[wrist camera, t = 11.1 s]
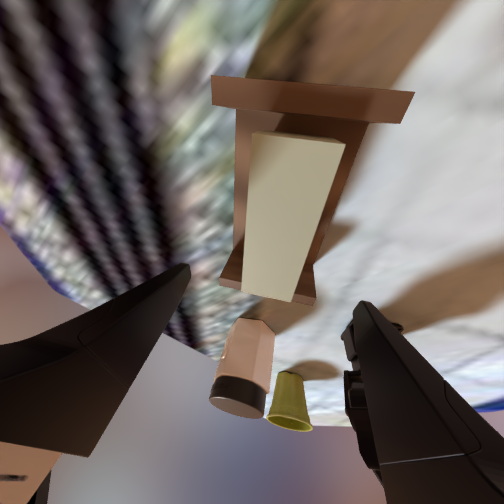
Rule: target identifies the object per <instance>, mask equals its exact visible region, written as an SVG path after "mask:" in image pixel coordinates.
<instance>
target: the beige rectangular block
mask: <svg viewBox="0 0 504 504" xmlns="http://www.w3.org/2000/svg"><path fill="white" fill-rule="evenodd" d="M345 145H346V144H344V143H342V142H340V141H338V140H336V139H334V138H330V137H322V136H313V135H304V134H295V133H286V132H277V131H269V130H262V131H259V132H255V133H252V142H251V156H250V170H249V185H248V199H247V214H246V228H245V242H244V257H243V271H242V285H241V292H245V293H250V294H254V295H259V296H263V297H268V298H272V299H277V300H282V301H286V302H291V300H292V297H293V294H294V292H295V289H296V286H297V283H298V280H299V277H300V274H301V272H302V269H303V266H304V263H305V260H306V257H307V254H308V251H309V249H310V246H311V243H312V240H313V237H314V234H315V231H316V229H317V226H318V223H319V220H320V217H321V214H322V211H323V208H324V206H325V203H326V200H327V197H328V194H329V191H330V188H331V185H332V183H333V180H334V177H335V174H336V171H337V168H338V165H339V163H340V160H341V157H342V154H343V151H344V148H345Z"/></svg>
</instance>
